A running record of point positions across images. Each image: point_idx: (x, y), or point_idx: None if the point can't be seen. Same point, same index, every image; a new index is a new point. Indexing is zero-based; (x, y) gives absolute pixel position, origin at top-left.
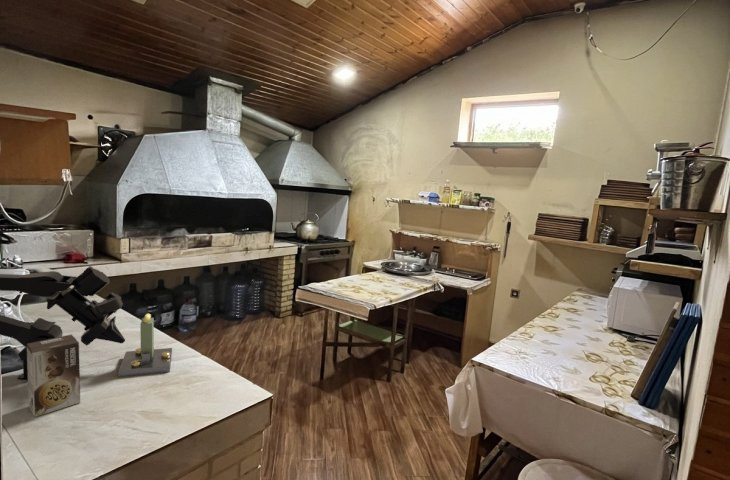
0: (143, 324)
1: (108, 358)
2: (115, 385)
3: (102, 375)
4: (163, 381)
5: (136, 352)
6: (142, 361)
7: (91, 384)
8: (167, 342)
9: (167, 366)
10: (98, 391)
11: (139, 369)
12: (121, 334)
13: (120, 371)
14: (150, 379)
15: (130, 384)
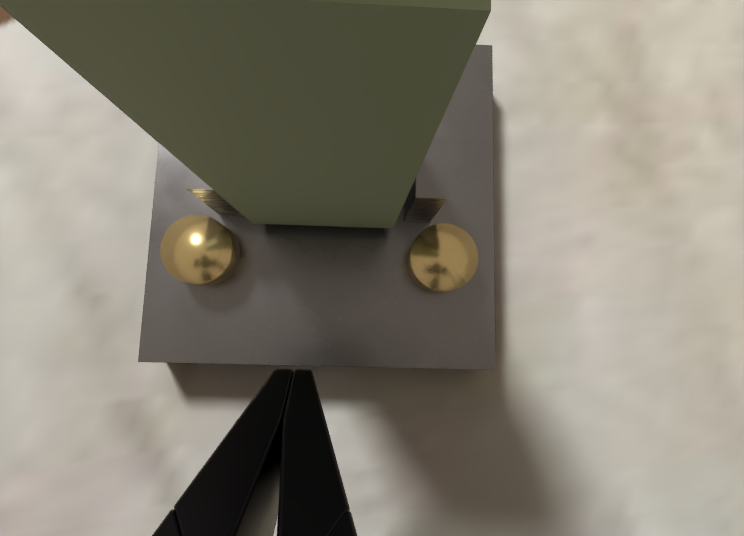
0: None
1: (138, 479)
2: (589, 367)
3: (426, 470)
4: (595, 107)
5: (225, 273)
6: (433, 213)
7: (544, 515)
8: None
9: (491, 62)
10: (647, 454)
11: (490, 236)
12: (232, 438)
13: (490, 357)
14: (553, 177)
15: (594, 283)
